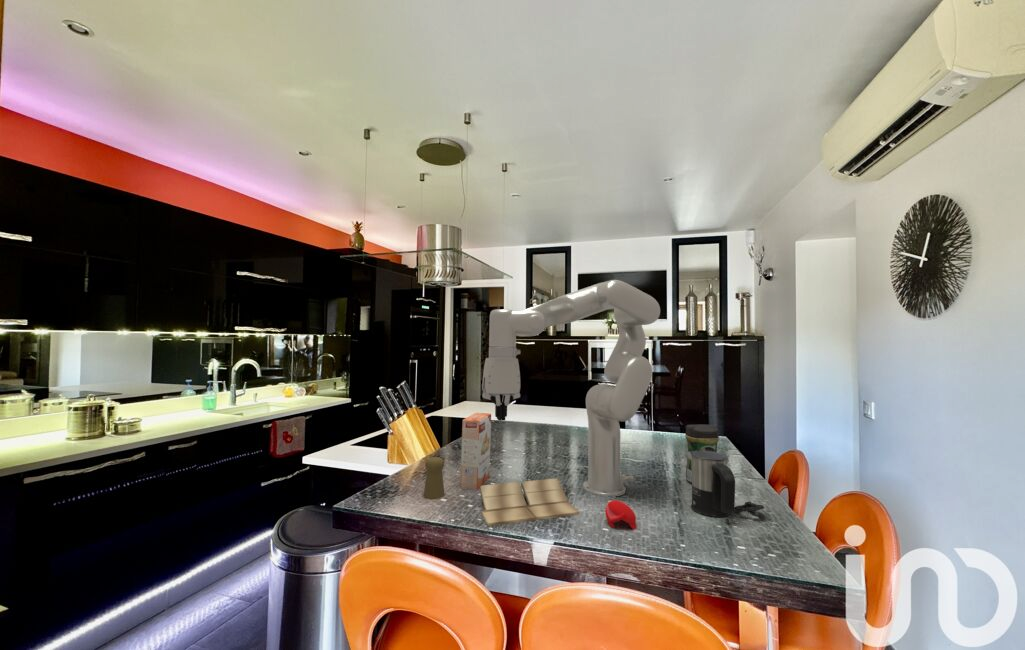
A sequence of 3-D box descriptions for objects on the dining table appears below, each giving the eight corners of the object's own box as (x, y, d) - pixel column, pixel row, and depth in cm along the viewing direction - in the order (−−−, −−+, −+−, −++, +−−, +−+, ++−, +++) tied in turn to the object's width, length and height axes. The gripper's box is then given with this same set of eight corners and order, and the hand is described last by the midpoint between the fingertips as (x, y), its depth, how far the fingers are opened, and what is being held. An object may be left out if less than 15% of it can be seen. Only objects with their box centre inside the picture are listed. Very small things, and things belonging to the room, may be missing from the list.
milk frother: (682, 506, 110) (682, 451, 111) (723, 498, 116) (723, 446, 117) (728, 528, 97) (728, 466, 98) (772, 518, 103) (771, 459, 104)
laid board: (567, 505, 109) (567, 500, 109) (579, 516, 102) (579, 511, 102) (481, 515, 102) (481, 510, 102) (488, 528, 95) (488, 522, 95)
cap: (599, 516, 95) (620, 507, 93) (602, 499, 101) (622, 490, 98) (619, 542, 96) (641, 534, 93) (621, 524, 101) (642, 516, 98)
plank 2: (556, 481, 117) (557, 478, 117) (567, 503, 110) (568, 500, 110) (521, 484, 114) (521, 481, 113) (529, 508, 107) (530, 504, 107)
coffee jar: (710, 478, 133) (710, 422, 134) (723, 487, 125) (723, 427, 126) (681, 478, 133) (681, 422, 134) (693, 487, 125) (692, 427, 126)
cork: (448, 495, 115) (449, 456, 116) (436, 502, 110) (437, 462, 110) (431, 491, 118) (432, 453, 118) (418, 499, 112) (419, 459, 113)
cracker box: (479, 492, 118) (480, 420, 119) (459, 490, 120) (460, 419, 120) (491, 476, 132) (492, 412, 133) (473, 475, 133) (474, 411, 134)
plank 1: (517, 485, 114) (518, 481, 113) (525, 508, 107) (526, 505, 106) (479, 488, 110) (480, 485, 110) (485, 513, 103) (486, 509, 103)
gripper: (523, 353, 118) (521, 416, 117) (473, 352, 114) (471, 418, 113) (532, 354, 111) (530, 421, 110) (479, 353, 107) (477, 423, 106)
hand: (500, 419), depth 112 cm, fingers closed
